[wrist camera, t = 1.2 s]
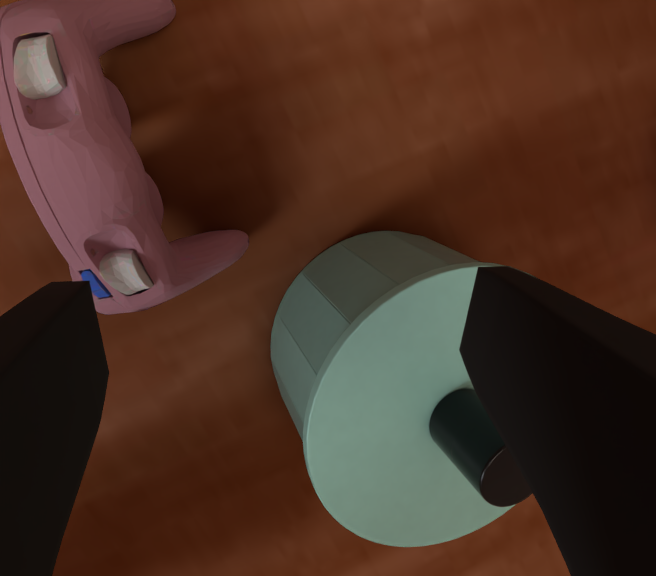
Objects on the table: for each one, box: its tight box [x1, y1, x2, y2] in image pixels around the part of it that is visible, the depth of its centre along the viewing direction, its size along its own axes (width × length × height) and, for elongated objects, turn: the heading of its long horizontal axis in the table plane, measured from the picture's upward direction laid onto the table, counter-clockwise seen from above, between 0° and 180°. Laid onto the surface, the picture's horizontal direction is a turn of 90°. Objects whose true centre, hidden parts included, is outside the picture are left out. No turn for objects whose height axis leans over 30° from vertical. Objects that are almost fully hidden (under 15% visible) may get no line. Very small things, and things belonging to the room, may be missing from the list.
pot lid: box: [303, 262, 535, 547], centre depth 17 cm, size 11×11×4 cm
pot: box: [270, 231, 479, 441], centre depth 22 cm, size 10×10×7 cm
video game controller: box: [0, 0, 249, 315], centre depth 17 cm, size 10×5×7 cm, turn 15°
